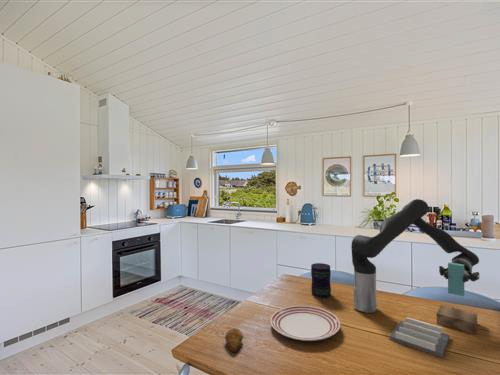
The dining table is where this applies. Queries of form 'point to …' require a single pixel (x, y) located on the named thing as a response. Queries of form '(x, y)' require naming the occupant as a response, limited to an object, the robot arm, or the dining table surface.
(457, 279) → the block
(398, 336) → the slotted rack
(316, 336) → the dinner plate
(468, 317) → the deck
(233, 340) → the brown oval lump
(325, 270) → the storage jar
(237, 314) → the dining table surface
